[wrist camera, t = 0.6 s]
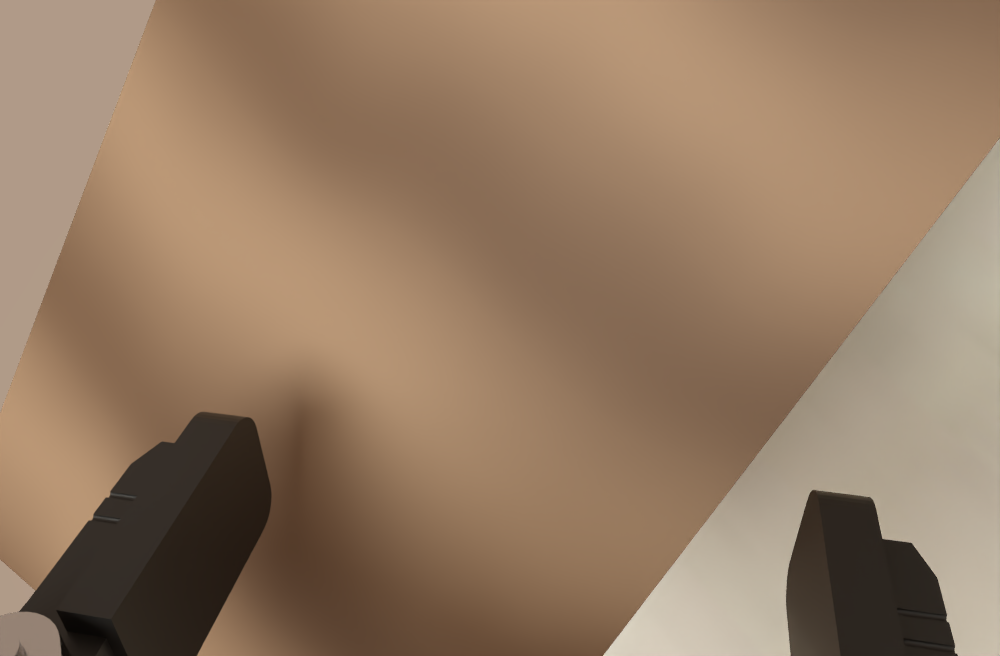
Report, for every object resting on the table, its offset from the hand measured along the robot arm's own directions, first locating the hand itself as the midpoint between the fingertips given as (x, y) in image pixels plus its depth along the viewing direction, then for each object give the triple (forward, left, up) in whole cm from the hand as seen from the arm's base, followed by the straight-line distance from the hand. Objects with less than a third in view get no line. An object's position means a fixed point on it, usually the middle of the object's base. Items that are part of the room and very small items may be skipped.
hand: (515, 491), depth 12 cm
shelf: (-4, -4, -25) cm, 25 cm away
